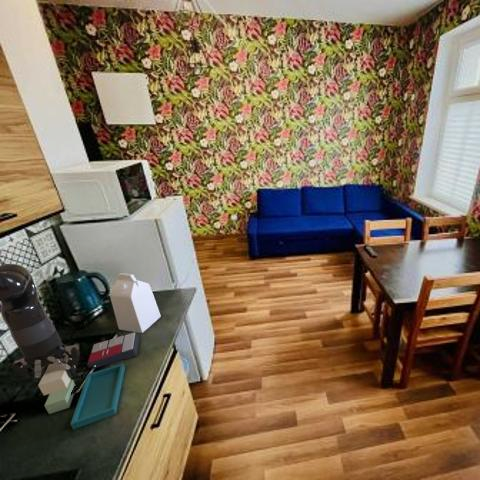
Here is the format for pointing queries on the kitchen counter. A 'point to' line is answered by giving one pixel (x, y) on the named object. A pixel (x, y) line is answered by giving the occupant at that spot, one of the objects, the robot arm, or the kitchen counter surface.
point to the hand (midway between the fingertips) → (60, 379)
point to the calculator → (114, 350)
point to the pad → (54, 379)
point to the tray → (99, 396)
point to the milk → (133, 304)
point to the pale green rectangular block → (60, 399)
